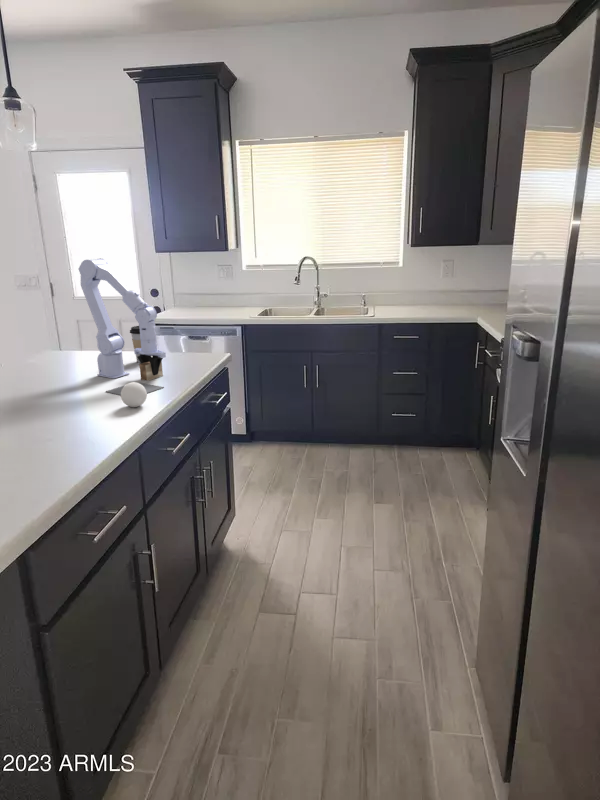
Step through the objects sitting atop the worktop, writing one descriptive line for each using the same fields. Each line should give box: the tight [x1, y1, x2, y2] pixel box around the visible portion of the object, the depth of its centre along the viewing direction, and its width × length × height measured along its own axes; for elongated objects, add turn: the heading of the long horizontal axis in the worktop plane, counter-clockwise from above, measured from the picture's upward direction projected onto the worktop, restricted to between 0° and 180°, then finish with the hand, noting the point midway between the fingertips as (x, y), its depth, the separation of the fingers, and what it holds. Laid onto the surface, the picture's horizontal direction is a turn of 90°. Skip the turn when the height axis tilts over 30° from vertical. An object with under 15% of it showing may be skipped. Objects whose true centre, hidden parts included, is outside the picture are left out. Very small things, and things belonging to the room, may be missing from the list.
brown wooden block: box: [138, 361, 164, 381], centre depth 200 cm, size 4×8×6 cm, turn 150°
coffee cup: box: [129, 325, 141, 364], centre depth 223 cm, size 9×9×15 cm
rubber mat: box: [105, 381, 165, 396], centre depth 185 cm, size 14×14×1 cm
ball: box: [120, 381, 148, 408], centre depth 167 cm, size 8×8×8 cm
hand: (151, 374), depth 201 cm, fingers closed on brown wooden block, 3 cm apart
